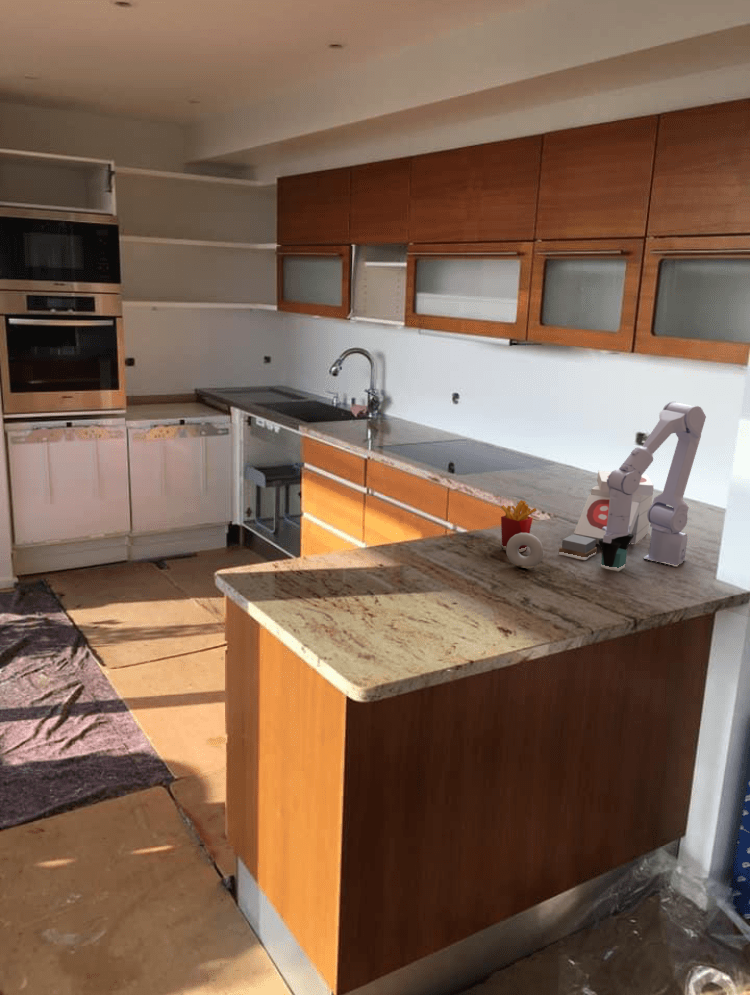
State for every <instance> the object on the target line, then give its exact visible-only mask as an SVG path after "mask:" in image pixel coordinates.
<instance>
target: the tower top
mask: <svg viewBox="0 0 750 995" xmlns="http://www.w3.org/2000/svg"><path fill="white" fill-rule="evenodd" d="M561 540H562V543H561V547H562V548H564V549H568V550H573V551H577V552H582V553H587V552H588V551H590V550H592V549H593V548H595V547H596V544H595V543H596V539H593V538H588V537H584V536H579V535H575V534H574V533H572V534H570V535H569V536H567V537H565V538H562V539H561Z"/></svg>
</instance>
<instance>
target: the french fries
mask: <svg viewBox="0 0 750 995" xmlns="http://www.w3.org/2000/svg"><path fill="white" fill-rule="evenodd" d="M500 508H501V509H502V510H503V511H504V513H505V515H503V516H501V517H500V526H501V528H500V529H501V531H500V532H501V546H502V545H503V546H506V547H507V543H508V541H509V540H510V538H511V537H513V536H514V535H515V534H518V533H529V534H531V533H530V532H531V528H532V523H533V517H531V515H532V514H533V513H535V512H537V508H535V507H534V508H532V509H531V507H529V504H527V502H526V501H525V500H522V499H521V500H519V501H518V503H517V505H516V506H514V505H507V507H506V506H505V505H503V504H502V505H501V506H500ZM511 509H512V510H513V512H512V510H511ZM525 547H528V546H526V545H522V546H520V547H519V549H521V548H525Z"/></svg>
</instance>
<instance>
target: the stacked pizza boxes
mask: <svg viewBox="0 0 750 995" xmlns="http://www.w3.org/2000/svg"><path fill="white" fill-rule="evenodd" d="M611 472H612V471H605V470H598V471H597V478H596V481H597V485H595V486H593V487H592V488H591V490H590V494H588V497H587V500H586V502H585V505H584V507H583V509H582V512H581V514H580V517H579V520H578V522H577V524H576V527H575V529H574V531H573V534H575V535H579V536H584V537H588V538H593V539H596V543H595V545H599V539H601V538H602V539H603V537H604V535H605V531H603V530H602V528H603V527H607V520H608V510H609V502H610V494H609V487H608V485H607V479H608V478H609V475H610V473H611ZM653 495H654V484H653V482H652V480H651V478H650V477H649V475H648V474H646V473H645V474H644V473H643V474H642V478H641V480H640V484H639V487H638V489H637V490H636V491H635V492H634V493H633V497H632V505H631V514H630V522H629V525H630V532H629V534H633V535H634V536H633V538H632V540H631V541H630V543H634V544H636V543H637V542H638V541H639V540H640V539H641V540H642V539H643V538H644V537H646V536H647V535H648V534H647V533H649V527H650V522H649V521H648V518H647V513H648V510H649V508H650V506H651V505H652V503H653ZM646 534H647V535H646ZM645 535H646V536H645ZM641 540H640V541H641ZM640 541H639V542H640ZM639 542H638V543H639ZM638 543H637V544H638Z"/></svg>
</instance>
